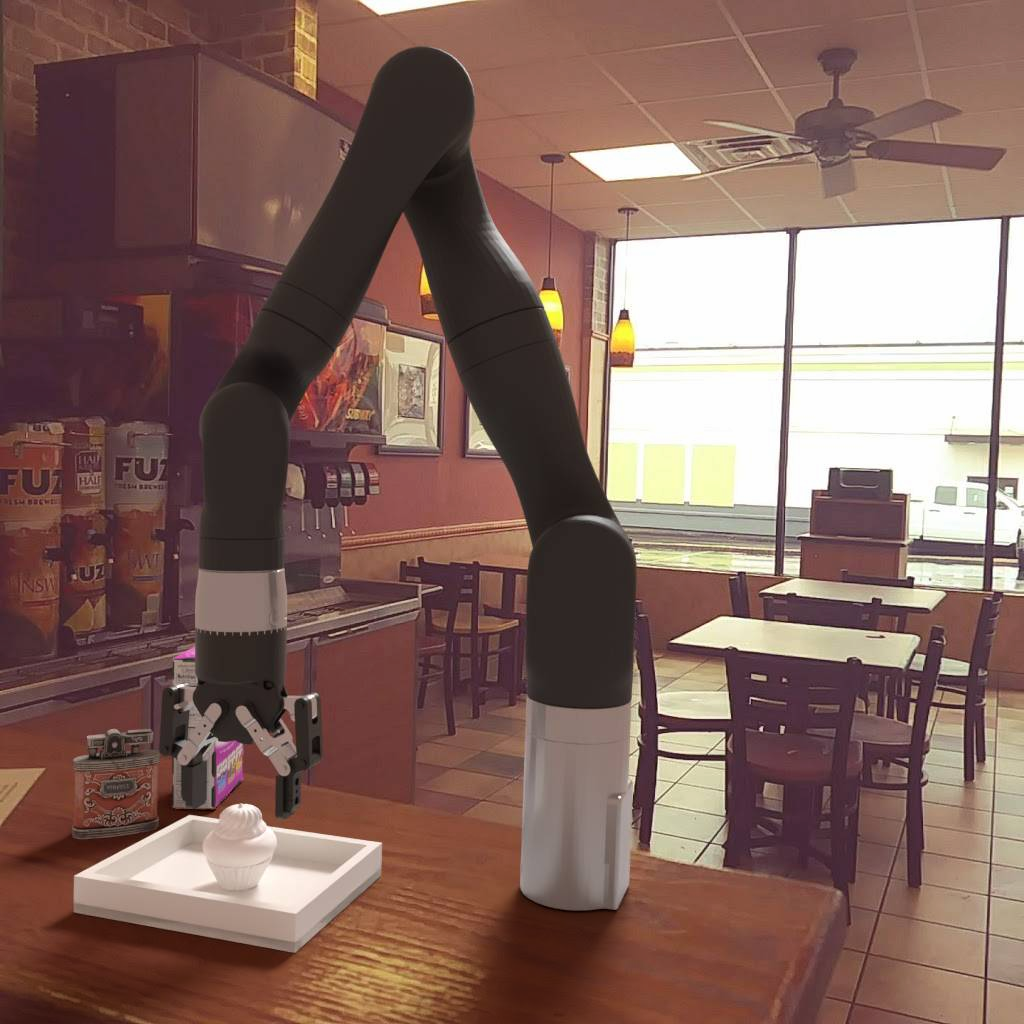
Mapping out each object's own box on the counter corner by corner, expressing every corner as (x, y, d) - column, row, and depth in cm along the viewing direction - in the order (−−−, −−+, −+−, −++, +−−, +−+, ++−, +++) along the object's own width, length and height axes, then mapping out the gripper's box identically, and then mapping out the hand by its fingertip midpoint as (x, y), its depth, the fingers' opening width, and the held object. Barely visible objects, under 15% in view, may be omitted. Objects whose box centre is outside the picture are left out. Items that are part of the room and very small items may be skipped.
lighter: (73, 841, 99) (75, 738, 99) (70, 830, 102) (72, 730, 102) (161, 830, 103) (163, 731, 103) (155, 820, 106) (157, 723, 106)
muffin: (201, 873, 91) (202, 794, 90) (272, 867, 92) (274, 789, 92) (202, 902, 85) (204, 817, 84) (279, 894, 87) (281, 812, 86)
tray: (381, 875, 93) (382, 842, 93) (295, 952, 78) (295, 913, 78) (188, 845, 99) (189, 814, 99) (73, 912, 84) (74, 875, 84)
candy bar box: (201, 779, 120) (204, 638, 120) (244, 780, 120) (247, 640, 119) (167, 810, 109) (170, 655, 108) (214, 812, 109) (218, 657, 108)
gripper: (338, 620, 89) (335, 806, 90) (193, 611, 93) (191, 790, 94) (296, 633, 82) (294, 835, 82) (141, 622, 86) (140, 816, 86)
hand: (239, 811), depth 88 cm, fingers open, 8 cm apart
